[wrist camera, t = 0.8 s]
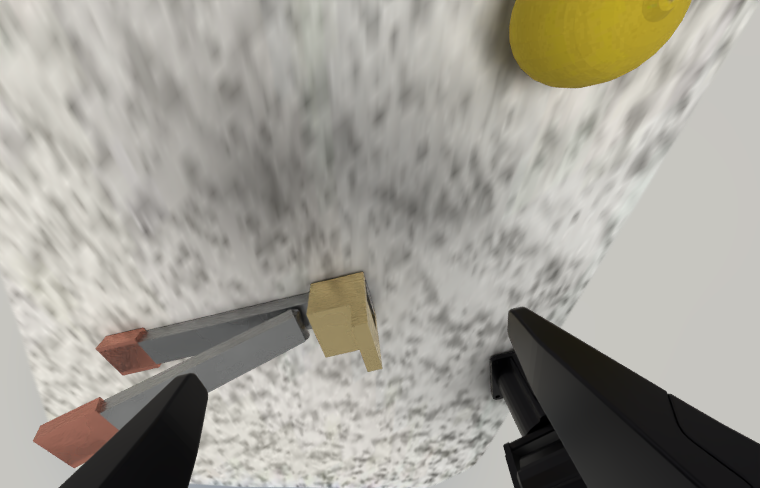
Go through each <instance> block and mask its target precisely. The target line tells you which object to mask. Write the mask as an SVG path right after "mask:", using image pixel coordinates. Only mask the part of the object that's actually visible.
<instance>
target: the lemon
mask: <svg viewBox="0 0 760 488" xmlns="http://www.w3.org/2000/svg"><path fill="white" fill-rule="evenodd" d="M690 3H691V0H516V1H515V4H514V7H513V10H512V14H511V20H510V26H509V37H510V45H511V49H512V53H513V56H514V58H515V60H516V61H517V63H518V65H519V66H520V68H521V69H522V70H523V71H524V72H525V73H526V74H528V75H529V76H530V77H531V78H532V79H534V80H536V81H538V82H541V83H543V84H545V85H548V86H551V87H559V88H582V87H587V86H591V85H596V84H600V83H604V82H608V81H610V80H613V79H616V78H618V77H620V76H622V75H624V74H626V73H628V72H630V71H632V70H634V69H636V68H637V67H638V66H640V65H641V64H642V63H644V62H645V61H646V60H648V59H649V58H650V57H651V56H653V55H654V54H655V53H656V52H657V51H658V50H659V49H660V48H661V47H662V46H663V45H664V44H665V43H666V42H667V41H668V40H669V38H670V37H671V36H672V34H673V33H674V32H675V30H676V29H677V27H678V26H679V24H680V23H681V21H682V20H683V18H684V16H685V14H686V12H687V10H688V8H689V5H690Z"/></svg>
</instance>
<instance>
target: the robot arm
mask: <svg viewBox="0 0 760 488" xmlns="http://www.w3.org/2000/svg"><path fill="white" fill-rule="evenodd" d="M507 330H508V336H509V338H510V341H511V343H512V345H513V348H514V350H515V351H514V352H510V353H505V354H501V355H496V356H493V357H492V358H491V359H490V374H491V395H492V397H493V399H495V400H497V399H502V398H504V400H505V402H506V404H507V406H508V408H509V410H510V412H511V414H512V417H513V419H514V421H515V423H516V425H517V427H518V429H519V431H520V433H521V435H522V438H519V439H517V440H515V441H513V442H511V443H506V444H504V446H503V447H504V450H505V454H506V455H505V457H506V461H507V464H508V467H509V471H510V474H511V478H512V481H513V484H514V488H760V444H759V443H757V442H755V441H753V440H752V439H750V438H748V437H746V436H744V435H742V434H740V433H738V432H737V431H735V430H733V429H731V428H729V427H727V426H725V425H724V424H722V423H720V422H718V421H717V420H715V419H713V418H711V417H710V416H708V415H706V414H704V413H703V412H701V411H699V410H698V409H696V408H694V407H692V406H691V405H689V404H687V403H685V402H684V401H682V400H680V399H679V398H677V397H675V396H674V395H672V394H667V392H666V391H665V390H663V389H662V388H660V387H658V386H657V385H655V384H653V383H652V382H650V381H648V380H647V379H645V378H643V377H642V376H640V375H638V374H637V373H635V372H633V371H632V370H630V369H628V368H627V367H625V366H623V365H622V364H620V363H618V362H616V361H615V360H613V359H611V358H610V357H608V356H606V355H605V354H603V353H601V352H600V351H598V350H596V349H595V348H593V347H591V346H590V345H588V344H586V343H585V342H583V341H581V340H579V339H578V338H576V337H574V336H573V335H571V334H569V333H568V332H566V331H564V330H563V329H561V328H559V327H558V326H556V325H554V324H553V323H551V322H549V321H548V320H546V319H544V318H543V317H541V316H539V315H538V314H536V313H534V312H533V311H531V310H529V309H528V308H525V307H518V308H513V309H510V310H509V313H508V329H507ZM207 401H208V392H207V389H206V388H205V386H204V385H203V384H202V382H201V381H200V379H199V378H198V377H197V375H196V374H194V373H187V374H182V375H178V376H176V377H175V378H174V379H173V380H172V381H171V382H170V383H169V384H168V385H167V386H165V387H164V388H163V389H162V390H161V391H160V392H159V393H158V394H157V395H156V396H155V397H154V398H153V399H152V400H151V401H150V402H149V403H148V404H146V405H145V406H144V407H143V408H142V409H141V410H140V411H139V412H138V413H137V414H136V415H135V416H134V417H133V418H132V419H131V420H130V421H129V422H128V423H126V424H125V425H124V426H123V427H122V428H121V429H120V430H119V431H118V432H117V433H116V434H115V435H114V436H113V437H112V438H111V439H110V440H109V441H107V442H106V443H105V444H104V445H103V446H102V447H101V448H100V449H99V450H98V451H97V452H96V453H95V454H94V455H93V456H92V457H91V458H90V459H88V460H87V461H86V462H85V463H84V464H83V465H82V466H81V467H80V468H79V469H78V470H77V471H76V472H75V473H74V474H73V475H72V476H71V477H70V478H68V479H67V480H66V481H65V483H63V484H62V485H61V486H60V487H59V488H188V485H189V482H190V479H191V475H192V472H193V468H194V465H195V461H196V457H197V453H198V448H199V443H200V438H201V433H202V427H203V422H204V417H205V412H206V406H207Z"/></svg>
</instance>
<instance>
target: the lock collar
mask: <svg viewBox="0 0 760 488" xmlns="http://www.w3.org/2000/svg"><path fill="white" fill-rule="evenodd" d="M373 309H374V308H373ZM306 315H307V318H308V320H309V322H310V324H311V326H312V329H313V331H314V333H315V335H316V337H317V339H318V342H319V344H320V346H321V348H322V350H323V353H324V355H325V357H330V356H334V355H339V354H343V353H348V352H352V351H356V350H360V352H361V355H362V357H363V360H364V363H365V366H366V368H367V371H368V372H370V371H374V370H379V369H382V362H381V354H380V346H379V338H378V330H377V322H376V314H375V310H374V314H371V311H370V308H369V305H368V301H367V295H366V284H365V277H364V273H363V272H360V273H356V274H352V275H347V276H343V277H339V278H335V279H330V280H326V281H322V282H317V283H313V284H311V287H310V293H309V300H308V307H307V313H306Z"/></svg>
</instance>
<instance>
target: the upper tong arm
mask: <svg viewBox="0 0 760 488" xmlns="http://www.w3.org/2000/svg"><path fill="white" fill-rule="evenodd" d="M309 336H310V334H309V332H308V330H307V327H306V325H305V323H304V321H303V319H302V317H301V315H300V313H299V310H298V309H293V310H291V309H290V310H288V311H286V312H284V313H282V314H280V315H278V316H276V317H274V318H272V319H270V320H268V321H266V322H264V323H261V324H259V325H257V326H255V327H253V328H251V329H249V330H247V331H245V332H243V333H241V334H239V335H237V336H235V337H233V338H231V339H229V340H227V341H225V342H222V343H220V344H218V345H216V346H214V347H212V348H210V349H208V350H206V351H204V352H202V353H200V354H198V355H196V356H194V357H192V358H190V359H188V360H186V361H183V362H181V363H179V364H177V365H175V366H173V367H171V368H169V369H167V370H165V371H163V372H161V373H159V374H157V375H155V376H153V377H151V378H149V379H147V380H144V381H142V382H140V383H138V384H136V385H134V386H132V387H130V388H128V389H126V390H124V391H122V392H120V393H118V394H116V395H114V396H112V397H110V398H107V399H105V400H103V399H102V398H100V397H99V398H97V399H95V400H93V401H91V402H88V403H86V404H84V405H82V406H80V407H78V408H76V409H74V410H72V411H70V412H68V413H66V414H64V415H62V416H59V417H57V418H55V419H53V420H51V421H49V422H47V423H45V424H43V425H41V426H40V428H39V430H38V432H37V434H36V436H35V438H34V440H33V441H34V442H35V443H37V444H38V445H40V446H41V447H43V448H44V449H46V450H47V451H49V452H50V453H52V454H53V455H55V456H56V457H58V458H59V459H61V460H62V461H64V462H65V463H67V464H68V465H70V466H71V467H73V468H76V467H77V466H79V465H81V464H83V463H85V462H86V461H87V460H88V459H90V458H91V457H92V456H93V455H94V454H95V453H96V452H97V451H98V450H99V449H100V448H101V447H102V446H103V445H104V444H105V443H106V442H107V441H109V440H110V439H111V438H112V437H113V436H114V435H115V434H116V433H117V432H118V431H119V430H120V429H121V428H122V427H123V426H124V425H125V424H126V423H128V422H129V421H130V420H131V419H132V418H133V417H134V416H135V415H136V414H137V413H138V412H139V411H140V410H141V409H142V408H143V407H144V406H145V405H146V404H148V403H149V402H150V401H151V400H152V399H153V398H154V397H155V396H156V395H157V394H158V393H159V392H160V391H161V390H162V389H163V388H164V387H165V386H167V385H168V384H169V383H170V382H171V381H172V380H173V379H174V378H175V377H176V376H178V375H182V374H187V373H194V374H196V375H197V377H198V378H199V379H200V381H201V382H202V384H203V385H204V386H205V388H206V389H207V392H210V391H212V390H214V389H216V388H218V387H220V386H222V385H224V384H225V383H227V382H229V381H231V380H233V379H235V378H237V377H239V376H241V375H242V374H244V373H246V372H248V371H250V370H252V369H254V368H256V367H258V366H260V365H261V364H263V363H265V362H267V361H269V360H271V359H273V358H275V357H277V356H278V355H280V354H282V353H284V352H286V351H288V350H290V349H292V348H294V347H296V346H297V345H299V344H301V343H303V342H305V341H306V340H307V339H308V338H309Z"/></svg>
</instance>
